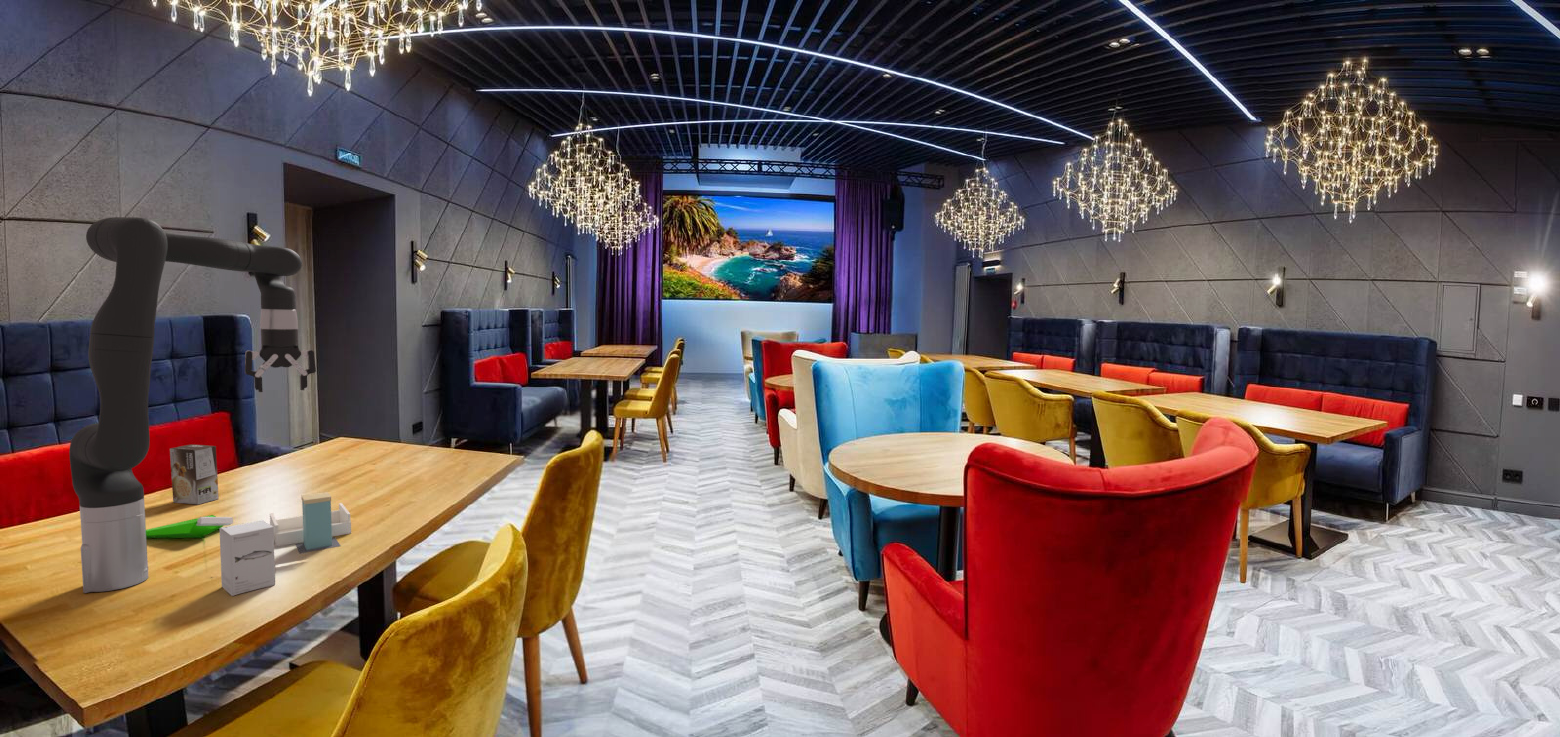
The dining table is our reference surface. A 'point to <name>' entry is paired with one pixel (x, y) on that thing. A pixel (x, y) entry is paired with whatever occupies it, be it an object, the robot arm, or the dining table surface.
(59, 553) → the dining table surface
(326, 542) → the tea tin
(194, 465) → the coffee box
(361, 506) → the dining table surface
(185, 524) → the green and white wedge
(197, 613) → the dining table surface
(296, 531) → the tote
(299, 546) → the coaster
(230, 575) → the supplement box
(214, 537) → the dining table surface
